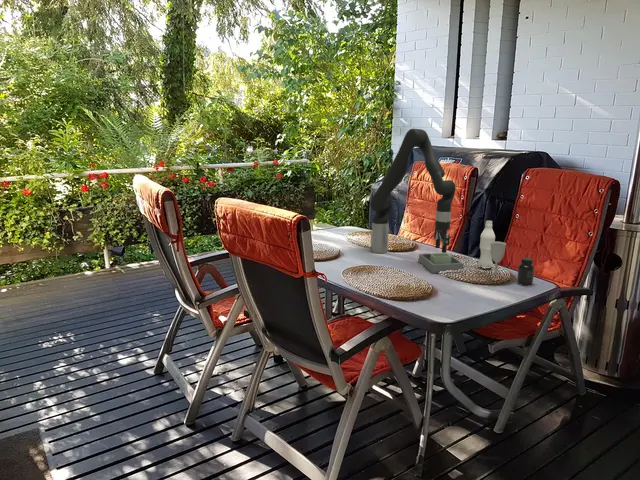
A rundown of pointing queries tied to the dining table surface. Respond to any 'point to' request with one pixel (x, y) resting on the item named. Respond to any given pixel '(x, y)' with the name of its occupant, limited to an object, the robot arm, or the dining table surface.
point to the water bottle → (486, 245)
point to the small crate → (440, 258)
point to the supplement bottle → (525, 272)
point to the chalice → (497, 253)
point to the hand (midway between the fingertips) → (440, 250)
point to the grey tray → (436, 268)
